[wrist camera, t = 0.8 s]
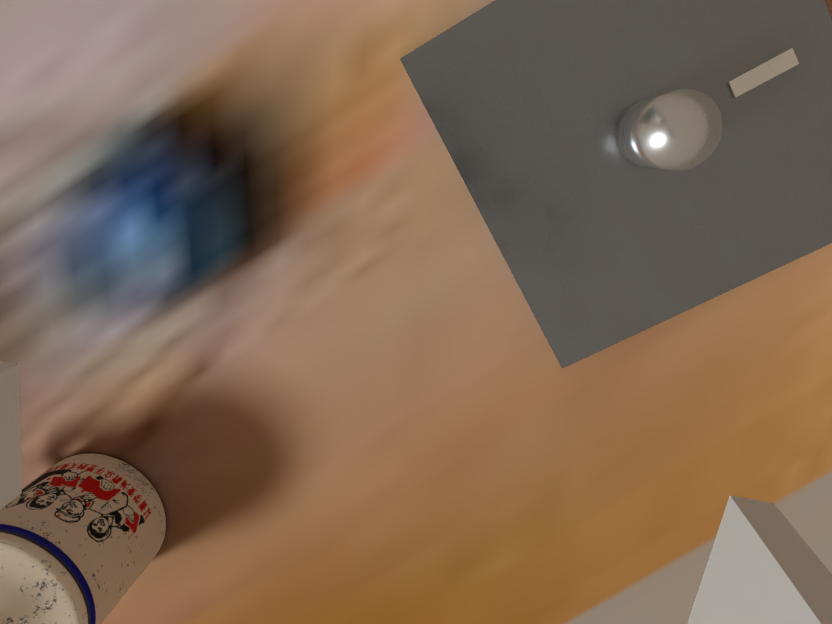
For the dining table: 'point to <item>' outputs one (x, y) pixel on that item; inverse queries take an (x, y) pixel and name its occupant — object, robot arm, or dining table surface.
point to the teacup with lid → (77, 541)
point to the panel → (596, 199)
